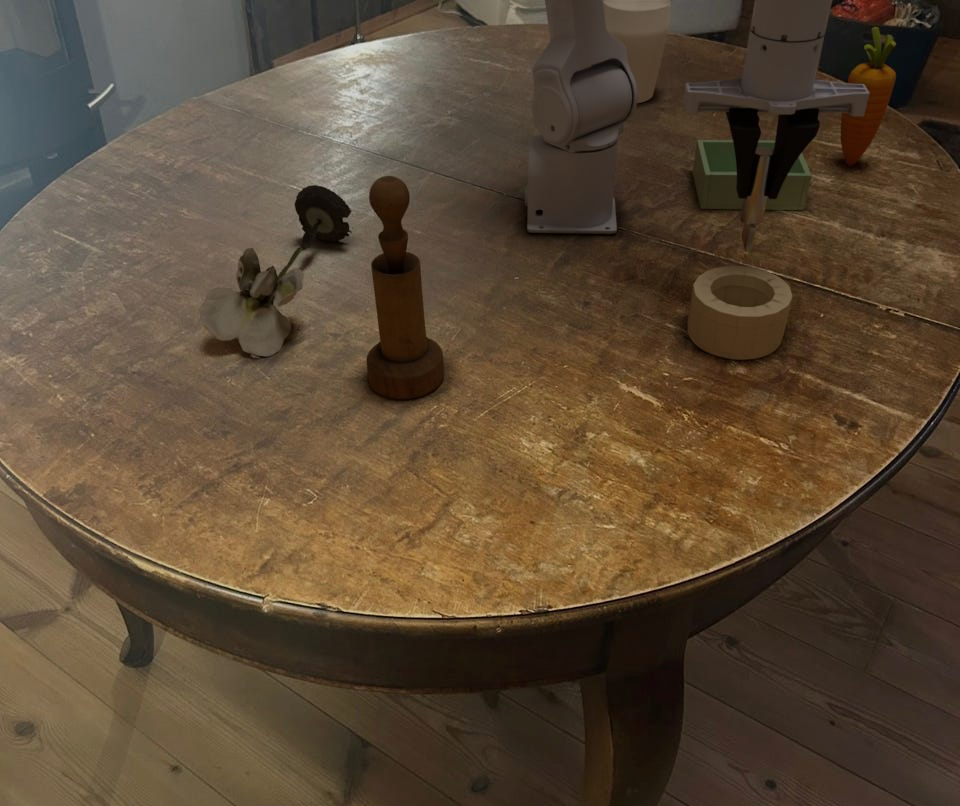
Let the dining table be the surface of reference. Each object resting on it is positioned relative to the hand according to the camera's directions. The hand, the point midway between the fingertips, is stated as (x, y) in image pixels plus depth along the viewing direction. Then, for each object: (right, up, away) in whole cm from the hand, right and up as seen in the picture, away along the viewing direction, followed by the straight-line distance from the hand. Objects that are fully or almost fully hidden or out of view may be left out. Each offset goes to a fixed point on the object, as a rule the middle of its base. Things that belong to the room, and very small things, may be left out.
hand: (755, 193), depth 82 cm
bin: (+6, +7, +23) cm, 25 cm away
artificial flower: (-43, -7, +9) cm, 44 cm away
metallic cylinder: (0, -4, +3) cm, 5 cm away
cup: (-4, +27, +45) cm, 53 cm away
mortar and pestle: (-31, -17, -1) cm, 35 cm away
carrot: (+19, +12, +28) cm, 36 cm away
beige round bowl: (-1, -12, +2) cm, 12 cm away
